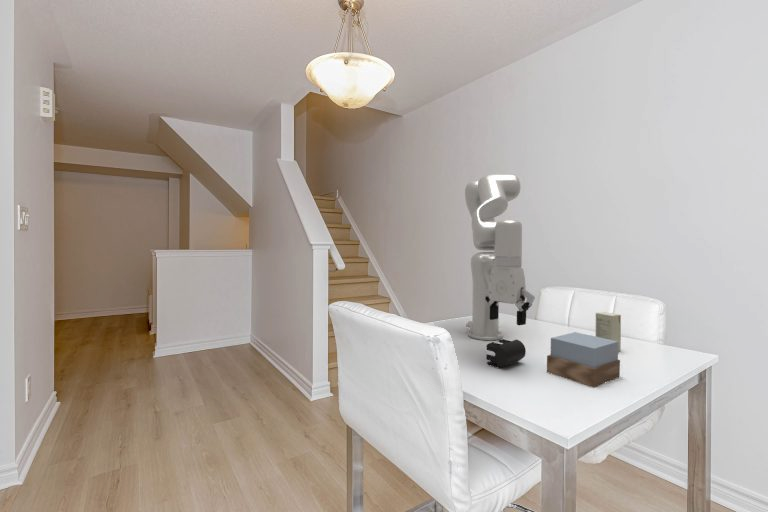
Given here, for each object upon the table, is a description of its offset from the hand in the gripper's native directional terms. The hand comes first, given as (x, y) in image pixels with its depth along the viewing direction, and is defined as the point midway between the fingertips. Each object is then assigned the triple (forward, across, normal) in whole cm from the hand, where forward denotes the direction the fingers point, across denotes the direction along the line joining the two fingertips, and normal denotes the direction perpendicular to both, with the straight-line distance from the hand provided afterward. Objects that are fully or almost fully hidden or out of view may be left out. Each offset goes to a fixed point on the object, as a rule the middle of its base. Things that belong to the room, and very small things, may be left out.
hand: (507, 321), depth 112 cm
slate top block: (+8, +16, +12) cm, 22 cm away
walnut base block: (+13, +16, +12) cm, 24 cm away
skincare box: (+12, +8, +41) cm, 43 cm away
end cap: (+13, -1, +1) cm, 13 cm away
